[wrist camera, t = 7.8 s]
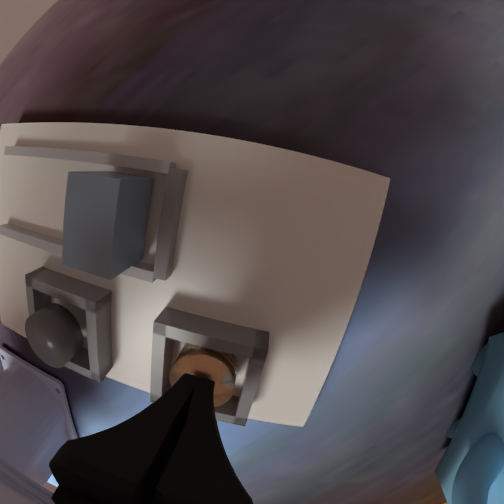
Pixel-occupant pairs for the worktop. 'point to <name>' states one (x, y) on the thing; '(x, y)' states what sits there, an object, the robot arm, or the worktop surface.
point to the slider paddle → (105, 221)
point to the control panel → (195, 258)
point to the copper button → (207, 369)
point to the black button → (54, 334)
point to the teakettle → (478, 436)
